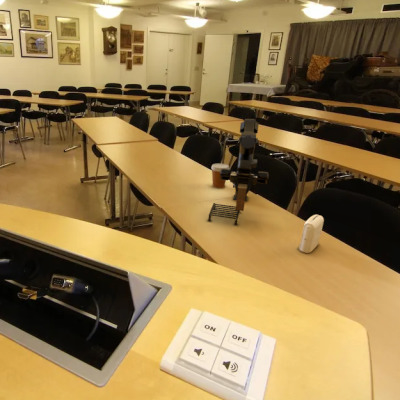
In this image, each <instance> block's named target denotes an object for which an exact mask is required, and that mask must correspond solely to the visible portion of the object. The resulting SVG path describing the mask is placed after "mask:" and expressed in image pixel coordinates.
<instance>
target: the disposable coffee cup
mask: <svg viewBox="0 0 400 400" xmlns="http://www.w3.org/2000/svg"><path fill="white" fill-rule="evenodd" d="M229 166H230V165H229V164H226V163H213V164H212V165H211V167H210V168H211V176H212V177H211V178H212V179H211V180H212V187H213V188H215V189H224V188H225V186H226V182H227V180H221V179H220V171H221V169H230V167H229Z"/></svg>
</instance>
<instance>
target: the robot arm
mask: <svg viewBox="0 0 400 400" xmlns="http://www.w3.org/2000/svg"><path fill="white" fill-rule="evenodd" d="M259 126H260V125H259V123H258V122H257V121H256V119H255V118H245V119H244V121H242V122H240V125H239V133H240V136H239V137H238V141H237V146H239V153H238V161H237V167H236V171H231V170H232V169H231V168H229V169H221V171H220V179H221V180H226V181H229V182H230V183H232V188H234V190H235V191H234V195H233V201H237V194H238V184H246V185H247V189H246V197H245V202H248V198H249V196H248V193H250V190H251V189H253V186H255V185H257V183H258V184H260V185H261V184H263V185H267V184H268V181H269V177H270V174H269V172H268V171H258V172H257V173H256V174H255V173H253V168H254V169H256V168H257V166H258V159H256V158H254V153H255V148H257V147H258V146H260V145H259V144H260V140H259V138H258V137H257V134H258V131H259Z"/></svg>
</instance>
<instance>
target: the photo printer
mask: <svg viewBox="0 0 400 400" xmlns="http://www.w3.org/2000/svg"><path fill="white" fill-rule="evenodd" d="M324 222H325V218H324V217H323V216H322V215H319V214H313V215H311V216H310V217H309V218H308V219H307V220H305V222H304V225H303V228H302V232H301V238H300V242H299V245H298V249H299V251H300V252H302V253H306V254H308V253H311V252H313V251H314V250H315V248H316V247H317V246H318V245H319V242H320V239H321V235H322V230H323V226H324Z"/></svg>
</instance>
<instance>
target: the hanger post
mask: <svg viewBox="0 0 400 400" xmlns="http://www.w3.org/2000/svg"><path fill="white" fill-rule="evenodd" d="M246 189H247V185H246V184H238V194H237V200H236V203H235V206H236V210H238V211H240V212H244V211H245V205H246V201H245V197H246Z"/></svg>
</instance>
